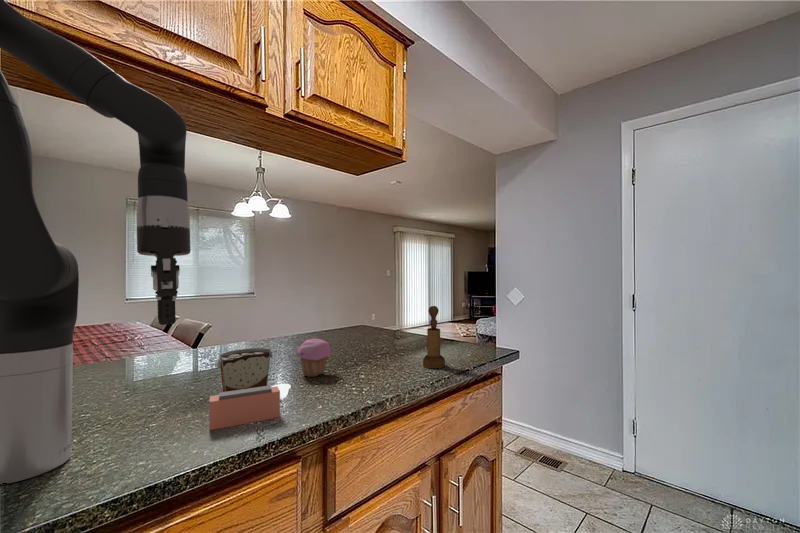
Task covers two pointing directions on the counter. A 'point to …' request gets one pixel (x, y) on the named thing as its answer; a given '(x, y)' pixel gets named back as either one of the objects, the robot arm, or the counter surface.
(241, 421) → the pink and grey block
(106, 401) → the counter surface
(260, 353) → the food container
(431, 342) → the brown tall knobbed column
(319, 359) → the cupcake
